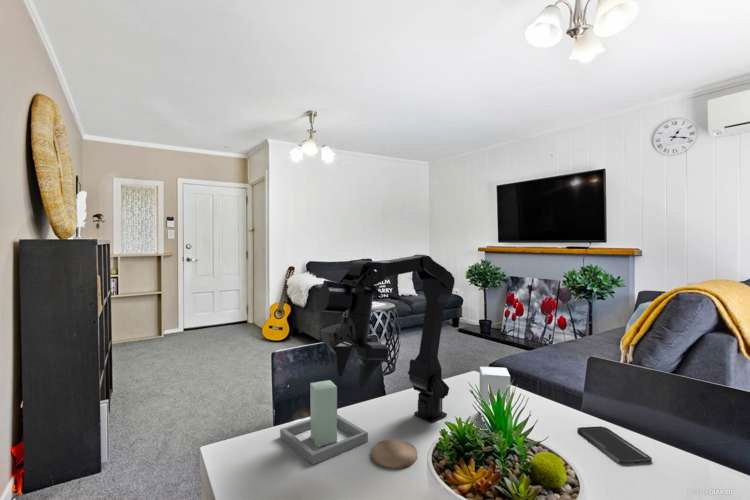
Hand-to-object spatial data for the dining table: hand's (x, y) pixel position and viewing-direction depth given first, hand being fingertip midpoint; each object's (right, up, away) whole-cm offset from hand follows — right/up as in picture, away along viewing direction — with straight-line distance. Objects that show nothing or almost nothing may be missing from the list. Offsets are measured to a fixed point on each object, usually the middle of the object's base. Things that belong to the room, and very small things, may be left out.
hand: (350, 381), depth 87 cm
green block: (-6, -15, +3) cm, 16 cm away
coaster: (+10, -15, -4) cm, 18 cm away
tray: (-6, -15, +3) cm, 16 cm away
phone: (+60, -15, 0) cm, 62 cm away
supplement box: (+38, -15, +14) cm, 43 cm away
